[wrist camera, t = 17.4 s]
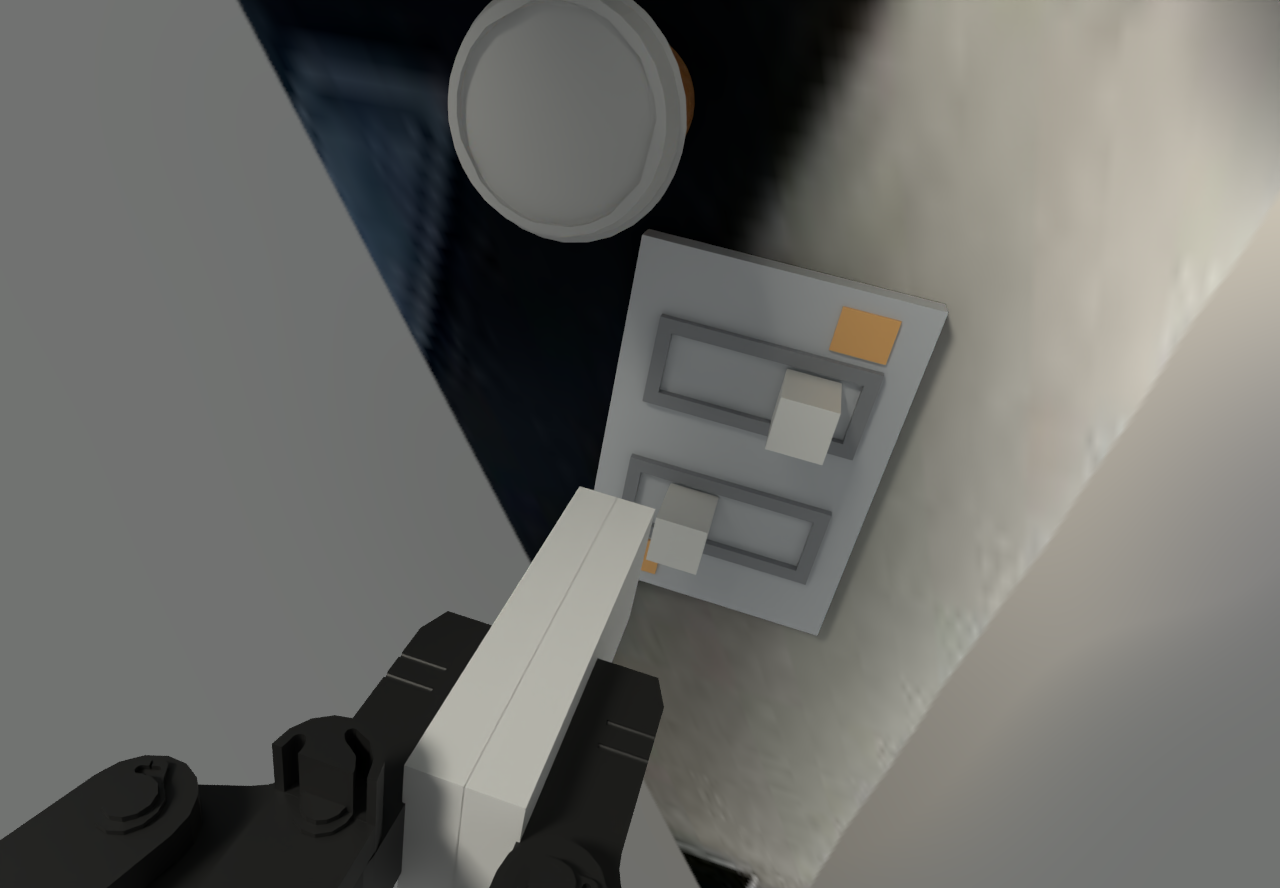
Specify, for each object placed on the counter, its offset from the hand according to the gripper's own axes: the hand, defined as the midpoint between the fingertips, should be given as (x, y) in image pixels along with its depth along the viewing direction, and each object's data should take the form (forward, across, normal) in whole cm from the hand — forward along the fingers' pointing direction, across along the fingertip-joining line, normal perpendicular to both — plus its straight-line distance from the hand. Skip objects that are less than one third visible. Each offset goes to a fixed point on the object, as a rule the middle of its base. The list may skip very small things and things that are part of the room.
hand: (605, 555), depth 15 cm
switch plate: (+29, +2, -12) cm, 32 cm away
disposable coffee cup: (+30, -8, +5) cm, 31 cm away
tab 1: (+28, 0, -16) cm, 32 cm away
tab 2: (+28, +5, -7) cm, 29 cm away
